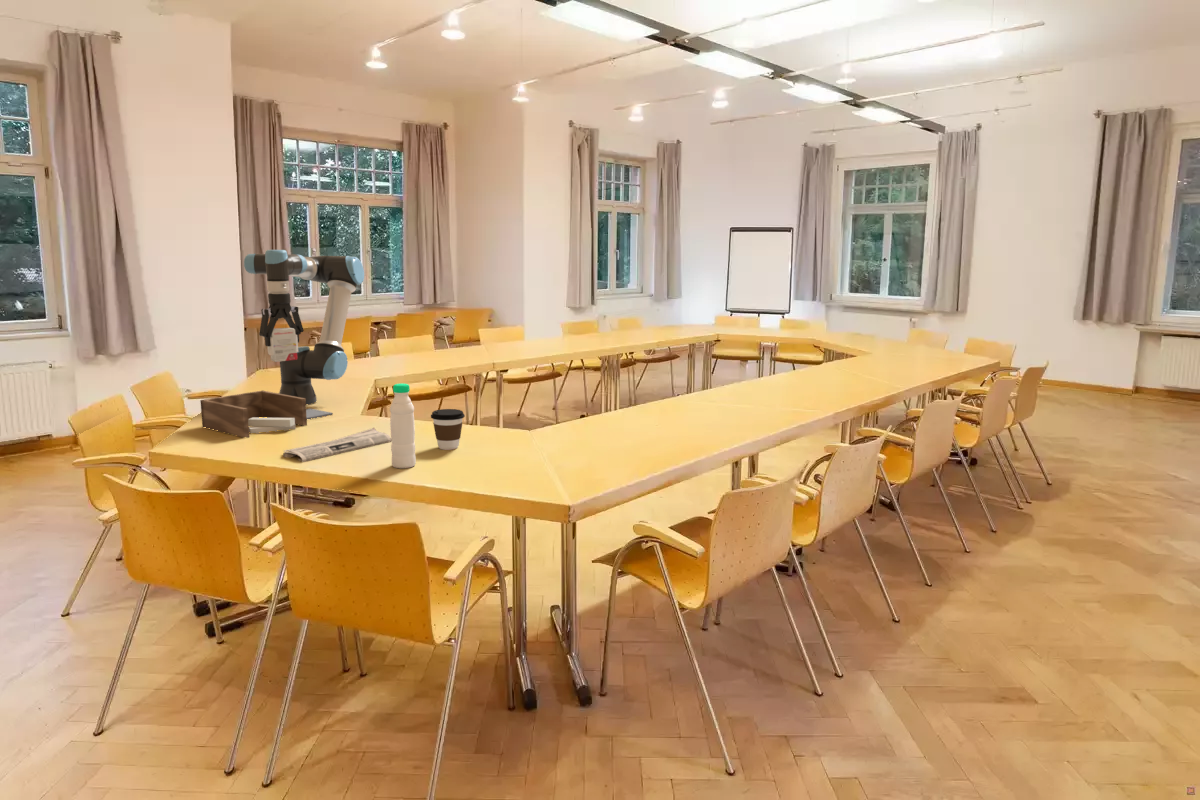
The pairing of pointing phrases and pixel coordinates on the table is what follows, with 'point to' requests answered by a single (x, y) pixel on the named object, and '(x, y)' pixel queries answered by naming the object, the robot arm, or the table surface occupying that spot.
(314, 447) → the newspaper
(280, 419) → the upper offcut
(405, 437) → the water bottle
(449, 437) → the coffee cup
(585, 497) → the table surface
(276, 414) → the walnut open-sided box
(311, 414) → the grey mat
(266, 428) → the lower offcut
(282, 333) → the ink box
